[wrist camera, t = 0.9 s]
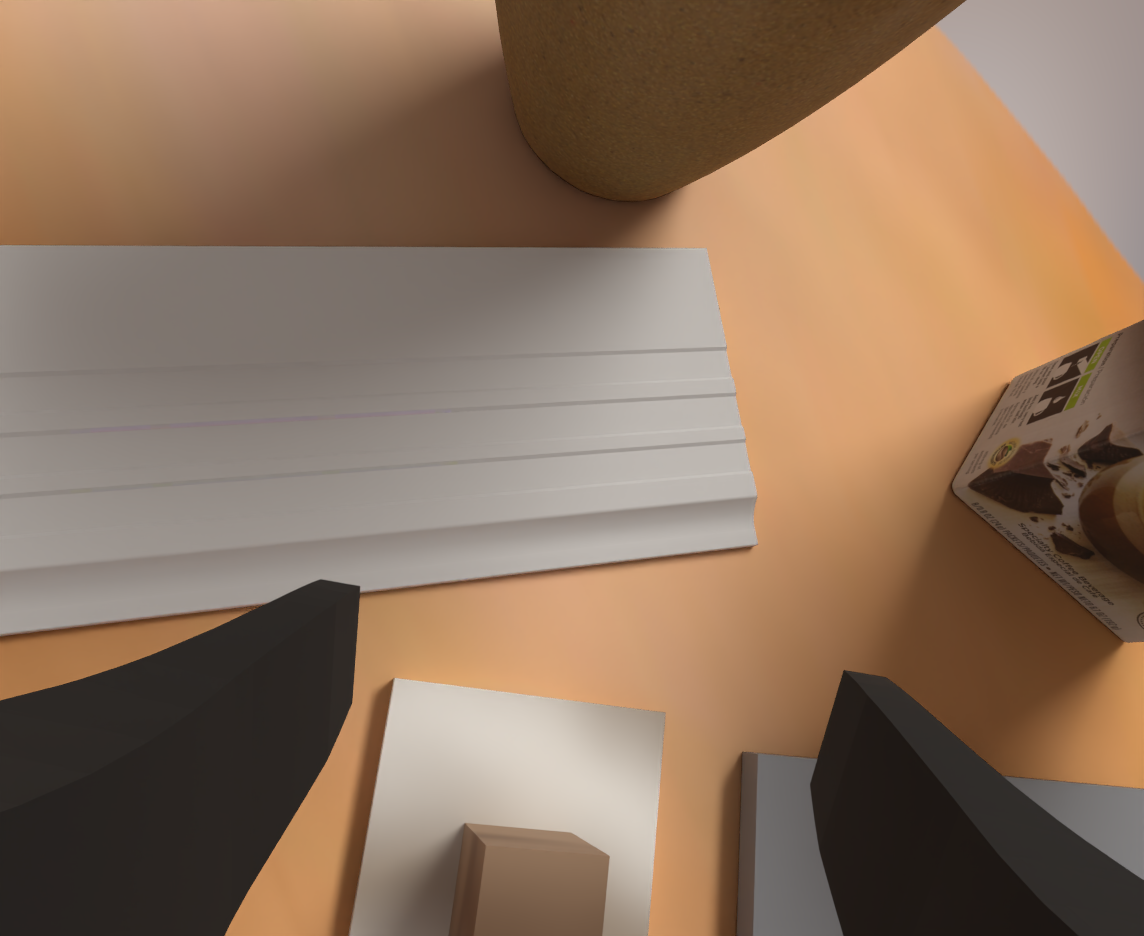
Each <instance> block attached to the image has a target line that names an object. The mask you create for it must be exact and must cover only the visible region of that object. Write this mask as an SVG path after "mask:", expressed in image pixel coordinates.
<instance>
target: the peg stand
mask: <svg viewBox="0 0 1144 936" xmlns="http://www.w3.org/2000/svg"><path fill="white" fill-rule="evenodd" d="M816 762H817V758H806V757H796V756H785V755H774V754H763V753H753V752H743V754H742V785H741V816H740V846H739V877H738V908H737V936H843V933H842V929H841V926H840V923H839V919H838V916H837V912H836V909H835V905H834V902H833V898H832V895H831V891H830V888H829V884H828V880H827V877H826V873H825V870H824V866H823V862H822V859H821V855H820V851H819V846H818V840H817V833H816V827H815V821H814V813H813V805H812V797H811V790H810V782H811V779H812V775H813V772H814V769H815V765H816ZM1003 777H1004V778H1006V779H1007V780H1008V781H1009V782H1010V783H1012V784H1013V785H1014V786H1015V787H1016V788H1018V789H1019V790H1020V791H1021V792H1023V793H1024V794H1025V795H1027V796H1028V797H1029V798H1030V799H1032V800H1033V801H1034V802H1035V803H1037V804H1038V805H1039V806H1041V807H1042V808H1043V809H1044V810H1046V811H1047V812H1048V813H1049V814H1051V815H1052V816H1053V817H1055V818H1056V819H1057V820H1058V821H1060V822H1061V823H1062V824H1064V825H1065V826H1067V827H1068V828H1069V829H1071V830H1072V831H1073V832H1075V833H1076V834H1077V835H1079V836H1080V837H1082V838H1083V839H1084V840H1086V841H1087V842H1089V843H1090V844H1092V845H1093V846H1094V847H1096V848H1097V849H1099V850H1100V851H1102V852H1103V853H1105V854H1106V855H1108V856H1109V857H1110V858H1112V859H1113V860H1115V861H1116V862H1118V863H1119V864H1121V865H1122V866H1124V867H1125V868H1126V869H1128V870H1129V871H1131V872H1132V873H1134V874H1135V875H1137V876H1138V877H1140V878H1141V879H1143V880H1144V789H1140V788H1130V787H1119V786H1108V785H1097V784H1087V783H1076V782H1065V781H1054V780H1043V779H1033V778H1022V777H1011V776H1003Z"/></svg>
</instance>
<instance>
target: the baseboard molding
mask: <svg viewBox="0 0 1144 936" xmlns="http://www.w3.org/2000/svg"><path fill="white" fill-rule="evenodd" d="M726 349H727V345H726V340H725V335H724V330H723V326H722V321H721V316H720V311H719V306H718V301H717V296H716V292H715V287H714V282H713V277H712V272H711V267H710V262H709V257H708V253H707V248H555V247H317V246H79V245H0V636H7V635H15V634H23V633H32V632H40V631H48V630H57V629H65V628H74V627H82V626H90V625H99V624H107V623H115V622H124V621H132V620H140V619H149V618H157V617H166V616H174V615H182V614H191V613H199V612H207V611H216V610H224V609H232V608H241V607H249V606H258V605H265V604H267V603H269V602H271V601H273V600H275V599H277V598H279V597H281V596H283V595H285V594H287V593H290V592H292V591H294V590H296V589H298V588H300V587H302V586H305V585H307V584H309V583H312V582H314V581H317V580H320V579H323V580H328V581H334V582H340V583H346V584H351V585H357V586H360V593H366V592H375V591H383V590H391V589H400V588H408V587H416V586H425V585H433V584H442V583H450V582H458V581H467V580H475V579H483V578H492V577H500V576H508V575H517V574H525V573H534V572H542V571H550V570H559V569H567V568H575V567H584V566H592V565H600V564H609V563H617V562H626V561H634V560H642V559H651V558H659V557H667V556H676V555H684V554H692V553H701V552H709V551H718V550H726V549H734V548H743V547H751V546H756V545H758V542H757V537H756V532H755V527H754V508H755V503H756V499H757V492H756V487H755V482H754V477H753V473H752V471H751V469H750V464H749V459H748V455H747V450H746V445H745V440H746V438H745V433H744V428H743V426H742V425H741V420H740V415H739V411H738V406H737V401H736V389H735V384H734V379H733V378H732V376H731V371H730V367H729V362H728V357H727V352H726Z"/></svg>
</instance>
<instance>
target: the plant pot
mask: <svg viewBox="0 0 1144 936" xmlns="http://www.w3.org/2000/svg"><path fill="white" fill-rule="evenodd" d="M965 1H966V0H495V3H496V10H497V18H498V25H499V32H500V38H501V44H502V50H503V56H504V61H505V66H506V71H507V76H508V81H509V87H510V92H511V96H512V101H513V105H514V109H515V114H516V117H517V120H518V123H519V125H520V128H521V131H522V133H523V135H524V137H525V139H526V140H527V142H528V143H529V145H530V147H531V148H532V149H533V151H534V152H535V153H536V154H537V156H538V157H539V158H540V159H541V160H542V161H543V162H544V163H545V164H546V166H547V167H548V168H550V169H551V170H552V171H553V172H554V173H556V174H557V175H558V176H560V177H561V178H562V179H564V180H565V181H567V182H568V183H570V184H571V185H573V186H575V187H576V188H578V189H580V190H582V191H585V192H587V193H590V194H592V195H595V196H599V197H602V198H606V199H612V200H618V201H643V200H649V199H654V198H657V197H660V196H663V195H665V194H668V193H670V192H672V191H674V190H677V189H679V188H681V187H684V186H686V185H688V184H690V183H692V182H694V181H696V180H698V179H700V178H702V177H704V176H706V175H708V174H710V173H712V172H714V171H716V170H718V169H720V168H721V167H723V166H725V165H727V164H729V163H731V162H733V161H734V160H736V159H738V158H740V157H742V156H744V155H745V154H747V153H749V152H750V151H752V150H754V149H756V148H757V147H759V146H761V145H762V144H764V143H766V142H767V141H769V140H771V139H772V138H774V137H776V136H777V135H779V134H781V133H782V132H784V131H785V130H787V129H789V128H790V127H792V126H794V125H795V124H797V123H798V122H800V121H801V120H803V119H804V118H806V117H807V116H809V115H810V114H812V113H813V112H815V111H816V110H818V109H819V108H821V107H822V106H824V105H825V104H827V103H828V102H830V101H831V100H833V99H834V98H836V97H837V96H839V95H840V94H842V93H843V92H844V91H846V90H847V89H849V88H850V87H852V86H853V85H855V84H856V83H858V82H859V81H860V80H862V79H863V78H864V77H866V76H867V75H869V74H870V73H871V72H873V71H874V70H875V69H877V68H878V67H880V66H881V65H882V64H884V63H885V62H886V61H888V60H889V59H891V58H892V57H893V56H895V55H896V54H897V53H899V52H900V51H901V50H903V49H904V48H905V47H907V46H908V45H909V44H910V43H912V42H913V41H914V40H916V39H917V38H918V37H920V36H921V35H922V34H924V33H925V32H926V31H927V30H929V29H930V28H931V27H933V26H934V25H935V24H936V23H938V22H939V21H940V20H941V19H943V18H944V17H945V16H947V15H948V14H949V13H950V12H952V11H953V10H954V9H956V8H957V7H958V6H960V5H961V4H962V3H963V2H965Z"/></svg>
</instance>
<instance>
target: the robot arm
mask: <svg viewBox="0 0 1144 936" xmlns="http://www.w3.org/2000/svg"><path fill="white" fill-rule="evenodd" d="M359 598H360V586H357V585H351V584H346V583H340V582H334V581H328V580H323V579H320V580H317V581H314V582H312V583H309V584H307V585H305V586H302V587H300V588H298V589H296V590H294V591H292V592H290V593H287V594H285V595H283V596H281V597H279V598H277V599H275V600H273V601H271V602H269V603H267V604H265V605H263V606H261V607H259V608H257V609H254V610H252V611H250V612H248V613H246V614H244V615H242V616H240V617H238V618H236V619H233V620H231V621H229V622H227V623H225V624H223V625H221V626H219V627H216V628H214V629H212V630H209V631H207V632H205V633H202V634H200V635H198V636H195V637H193V638H191V639H188V640H186V641H183V642H181V643H179V644H176V645H174V646H172V647H169V648H167V649H165V650H162V651H160V652H157V653H155V654H152V655H150V656H147V657H145V658H142V659H139V660H137V661H134V662H131V663H128V664H125V665H123V666H120V667H117V668H114V669H111V670H108V671H105V672H102V673H98V674H95V675H92V676H89V677H86V678H83V679H80V680H77V681H73V682H70V683H67V684H63V685H59V686H55V687H52V688H48V689H44V690H40V691H36V692H32V693H28V694H24V695H20V696H16V697H13V698H9V699H5V700H1V701H0V936H224V935H225V933H226V931H227V929H228V927H229V925H230V923H231V921H232V919H233V918H234V916H235V914H236V912H237V910H238V908H239V907H240V905H241V903H242V901H243V899H244V898H245V896H246V894H247V892H248V890H249V889H250V887H251V885H252V884H253V882H254V881H255V879H256V877H257V876H258V874H259V872H260V871H261V869H262V867H263V866H264V864H265V863H266V861H267V859H268V858H269V856H270V854H271V853H272V851H273V849H274V848H275V846H276V844H277V843H278V841H279V840H280V838H281V836H282V835H283V833H284V831H285V830H286V828H287V826H288V825H289V823H290V822H291V820H292V818H293V817H294V815H295V813H296V812H297V810H298V808H299V807H300V805H301V803H302V802H303V800H304V798H305V797H306V795H307V793H308V792H309V790H310V788H311V787H312V785H313V783H314V782H315V780H316V778H317V777H318V775H319V773H320V772H321V770H322V768H323V767H324V765H325V763H326V761H327V760H328V757H329V755H330V753H331V751H332V748H333V746H334V744H335V742H336V740H337V737H338V735H339V733H340V730H341V728H342V726H343V723H344V721H345V719H346V716H347V714H348V711H349V709H350V707H351V704H352V698H353V684H354V670H355V656H356V641H357V627H358V613H359ZM810 790H811V797H812V805H813V813H814V821H815V827H816V833H817V840H818V846H819V851H820V855H821V859H822V862H823V866H824V870H825V873H826V877H827V880H828V884H829V888H830V891H831V895H832V898H833V902H834V905H835V909H836V912H837V916H838V919H839V923H840V926H841V929H842V933H843V936H1144V880H1143V879H1141V878H1140V877H1138V876H1137V875H1135V874H1134V873H1132V872H1131V871H1129V870H1128V869H1126V868H1125V867H1124V866H1122V865H1121V864H1119V863H1118V862H1116V861H1115V860H1113V859H1112V858H1110V857H1109V856H1108V855H1106V854H1105V853H1103V852H1102V851H1100V850H1099V849H1097V848H1096V847H1094V846H1093V845H1092V844H1090V843H1089V842H1087V841H1086V840H1084V839H1083V838H1082V837H1080V836H1079V835H1077V834H1076V833H1075V832H1073V831H1072V830H1071V829H1069V828H1068V827H1067V826H1065V825H1064V824H1062V823H1061V822H1060V821H1058V820H1057V819H1056V818H1055V817H1053V816H1052V815H1051V814H1049V813H1048V812H1047V811H1046V810H1044V809H1043V808H1042V807H1041V806H1039V805H1038V804H1037V803H1035V802H1034V801H1033V800H1032V799H1030V798H1029V797H1028V796H1027V795H1025V794H1024V793H1023V792H1021V791H1020V790H1019V789H1018V788H1016V787H1015V786H1014V785H1013V784H1012V783H1010V782H1009V781H1008V780H1007V779H1006V778H1004V777H1003V776H1002V775H1001V774H999V773H998V772H997V771H996V770H995V769H994V768H992V767H991V766H990V765H989V764H988V763H986V762H985V761H984V760H983V759H982V758H981V757H979V756H978V755H977V754H976V753H975V752H974V751H972V750H971V749H970V748H969V747H968V746H967V745H966V744H964V743H963V742H962V741H961V740H960V739H959V738H958V737H956V736H955V735H954V734H953V733H952V732H951V731H950V730H948V729H947V728H946V727H945V726H944V725H943V724H942V723H941V722H939V721H938V720H937V719H936V718H935V717H934V716H933V715H931V714H930V713H929V712H928V711H927V710H926V709H925V708H923V707H922V706H921V705H920V704H919V703H918V702H916V701H915V700H914V699H913V698H912V697H911V696H909V695H908V694H907V693H906V692H905V691H903V690H902V689H901V688H900V687H898V686H897V685H896V684H894V683H893V682H892V681H890V680H889V679H887V678H886V677H881V676H875V675H869V674H863V673H858V672H852V671H846V670H844V671H843V675H842V678H841V682H840V685H839V688H838V692H837V695H836V698H835V702H834V705H833V708H832V712H831V715H830V718H829V722H828V725H827V729H826V732H825V735H824V739H823V742H822V745H821V749H820V752H819V755H818V759H817V762H816V765H815V769H814V772H813V775H812V779H811V782H810Z"/></svg>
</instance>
